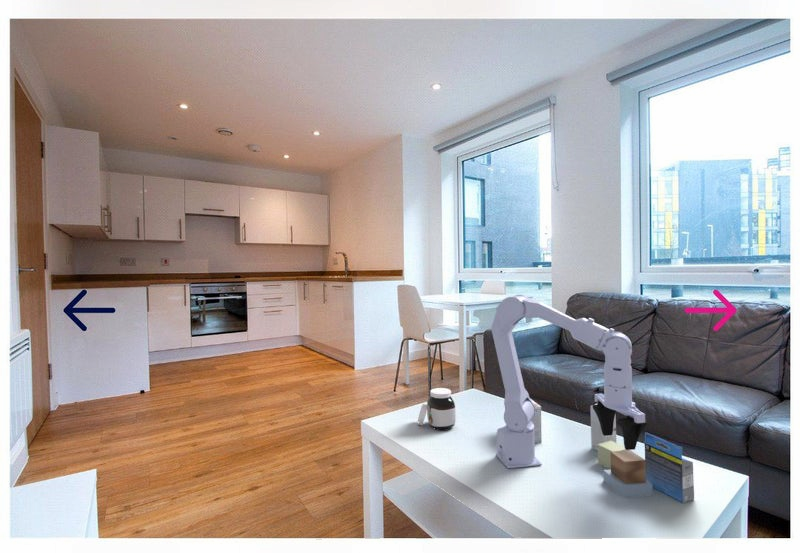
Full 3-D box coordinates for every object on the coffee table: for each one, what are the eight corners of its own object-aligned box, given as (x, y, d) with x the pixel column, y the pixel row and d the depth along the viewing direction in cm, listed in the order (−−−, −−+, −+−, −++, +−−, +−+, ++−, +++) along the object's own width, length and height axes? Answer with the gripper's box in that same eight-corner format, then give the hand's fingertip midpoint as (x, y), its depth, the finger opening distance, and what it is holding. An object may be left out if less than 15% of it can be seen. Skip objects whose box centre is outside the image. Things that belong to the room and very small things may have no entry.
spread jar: (459, 429, 124) (458, 393, 124) (428, 435, 120) (427, 398, 120) (441, 417, 136) (440, 384, 135) (412, 422, 131) (411, 388, 131)
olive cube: (615, 472, 97) (614, 452, 97) (597, 463, 101) (597, 444, 101) (628, 467, 99) (628, 448, 99) (611, 459, 103) (610, 440, 103)
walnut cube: (625, 484, 86) (624, 461, 86) (610, 472, 91) (610, 451, 91) (646, 482, 87) (645, 460, 87) (630, 471, 92) (630, 450, 92)
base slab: (623, 499, 86) (622, 485, 86) (603, 482, 93) (603, 470, 93) (652, 496, 86) (652, 483, 86) (630, 480, 93) (630, 467, 93)
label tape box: (695, 500, 84) (694, 444, 84) (682, 504, 83) (682, 447, 83) (656, 480, 93) (655, 429, 92) (644, 483, 91) (643, 431, 91)
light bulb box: (507, 429, 124) (506, 396, 124) (527, 428, 124) (527, 395, 124) (520, 444, 113) (520, 407, 113) (542, 443, 114) (542, 406, 113)
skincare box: (605, 454, 106) (605, 410, 106) (590, 448, 110) (589, 405, 109) (617, 448, 109) (616, 405, 109) (601, 442, 113) (601, 401, 113)
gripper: (657, 393, 85) (657, 454, 85) (612, 375, 99) (612, 428, 99) (628, 395, 84) (628, 457, 84) (586, 377, 98) (587, 430, 98)
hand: (618, 441), depth 92 cm, fingers open, 7 cm apart
